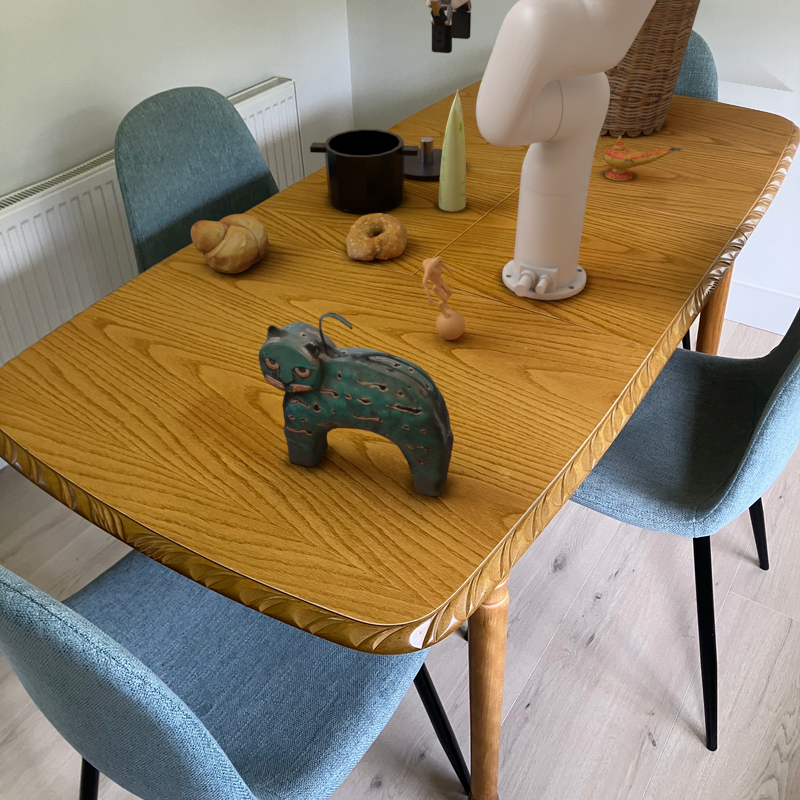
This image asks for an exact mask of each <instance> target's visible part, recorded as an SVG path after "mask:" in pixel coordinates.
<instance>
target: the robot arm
mask: <svg viewBox="0 0 800 800" xmlns="http://www.w3.org/2000/svg"><path fill="white" fill-rule="evenodd" d="M655 2H656V0H518V1H517V2H516V3H515V4H514V5H512V7H511V8H510V9H509V10H508V12H507V13H506V14H505V17H504V19H503V22H502V24H501V26H500V29H499V32H498V34H497V37H496V40H495V42H494V45H493V49H492V51H491V54H490V57H489V59H488V62H487V65H486V68H485V71H484V74H483V75H482V79H481V82H480V85H479V89H478V91H477V92H478V93H477V97H476V103H475V104H476V105H475V117H476V124H477V128H478V131H479V133H480V135H481V136H482V137H483V139H484V140H485V141H486V142H487V143H488V144H490V145H491V146H494V147H497V148H503V149H504V148H516V147H522V146H527V145H529V147H528V149H527V152H526V154H525V156H524V158H523V162H522V166H521V172H520V179H519V180H520V182H519V193H518V205H517V216H516V228H515V229H516V230H515V240H514V241H515V242H514V251H513V252H514V253H513V259H511V260H509V261H508V262H507V263H506V264H505V265H504V266H503V268H502V272H501V273H502V275H501V276H502V277H501V278H502V282H503V284H504V285H505V286H506V287H507V288H508V289H509V290H510V291H512V292H514V295H516V296H518V297H525V298H527V299H528V298H529V299H533V300H539V301H542V300H543V301H556V300H557V301H558V300H564V299H567V298H571V297H573V296H575V295H577V294H579V293H580V292H581V291H582V290H584V288H585V286H586V283H587V273H586V271H585V270H584V268H583V267H582V266H581V265H580V264H579V259H580V252H581V251H580V250H581V243H582V238H583V237H582V236H583V229H584V223H585V217H586V209H587V202H588V196H589V195H588V194H589V189H590V183H591V177H592V169H593V163H594V159H595V153H596V149H597V148H596V145H597V144H598V141H599V135H600V132H601V130H603V129H602V126H603V123H604V120H605V117H606V114H607V111H608V106H609V100H610V87H609V82H608V79H607V76H606V74H605V73H604V71H607V70H609V69H612V68H613V67H615V66H616V65H617V64H618V63H619V62H620V61H621V60H622V59H623V58H624V56H625V55H626V53H627V52H628V50H629V48H630V47H631V45H632V43H633V41H634V40H635V38H636V36H637V34H638V32H639V31H640V29H641V27H642V25H643V23H644V21H645V20H646V18H647V16H648V14H649V12H650V11H651V9H652V7H653V5H654V4H655ZM425 4H426V6H427V7H428V8H429V9H431V10H430V15H431V19H430V24H431V52H433V53H440V54H450V53H452V52H453V39H459V40H469V39H470V38H471V25H472V12H471V11H472V1H471V0H426V3H425ZM445 11H446V12H445ZM597 146H598V145H597Z"/></svg>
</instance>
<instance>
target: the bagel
mask: <svg viewBox="0 0 800 800" xmlns="http://www.w3.org/2000/svg"><path fill="white" fill-rule="evenodd" d="M408 238H409V235H408V231H407V229H406V227H405V225H404V223H403V222H402V221H401V220H399V219H398V218H396V217H395V216H392V215H390V214H388V213H375V214H366V215H363V216H360V217H359V218H357V220H356V221H355V222H354V223H353V225H351V227H350V228H349V231H348V234H347V237H346V239H345V245H346V251H347V255H348V257H349V258H350V259H353V260H361V261H373V260H374V259H377V260H378V259H379V260H385V261H386V260H389V259H392V258H397V257H399V256H402V254H403V253H404V251H405V249H406V246H407V244H408V242H409V240H408Z"/></svg>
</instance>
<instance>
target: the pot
mask: <svg viewBox="0 0 800 800" xmlns="http://www.w3.org/2000/svg"><path fill="white" fill-rule="evenodd" d="M419 149H420V145H409V144H408V145H406V144H405V141H404V139H403V138H402V137H401V135H399V134H396V133H395V132H393V131H389V130H383V129H377V128H359V129H358V128H357V129H349V130H346V131H342V132H341V131H340V132H338V133H334V134H333V135H331V136H329V137H328V138H327V139H326V141H325V142H315V141H313V142H312V143H311V145H309V152H310V153H312V154H313V153H316V154H317V153H318V154H324V159H325V170H326V183H327V184H326V185H327V195H328V197H327V198H328V201H329V204H330V205H331V207H332V208H334V209H336V210H337V211H340V212H343V213H347V214H351V215H363V216H365V215H369V214H375V213H382V214H384V213H386V212H389V211H393V210H394V209H396V208H398V207H399V206H400V205H402V204H403V202H404V200H405V176H404V156H417V155H418V152H419Z"/></svg>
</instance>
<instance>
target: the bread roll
mask: <svg viewBox="0 0 800 800" xmlns="http://www.w3.org/2000/svg"><path fill="white" fill-rule="evenodd" d="M190 237H191V241H192V243H193V245H194V247H195V249H196V250H197V251H198V252H199V253H201V254H202V256H203V257H204V259H205V261H206V263H207V265H208V266H209V267H210V268H211V269H212V270H214V271H216V272H219V273H224V274H238V273H242V272H244V271H246V270H247V269H249V268H250V267H251V266H252V265H254V264H256V263H258V262H259V261H260V260H262V259H263V258H264V257H265V256H266V253H267V250H268V247H269V244H270V243H269V233H268V231H267V229H266V227H265V225H264V224H263V223H262V222H261V221H260V220H259V219H258V218H257V217H256V216H254V215H250V214H246V213H233V214H230V215H227V216H224V217H223V218H221V219H220V220H218V221H216V220H215V221H214V220H206V219H202V220H201V219H200V220H198V221H196V222H195V223H193V225H192V226H191V229H190Z"/></svg>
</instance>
